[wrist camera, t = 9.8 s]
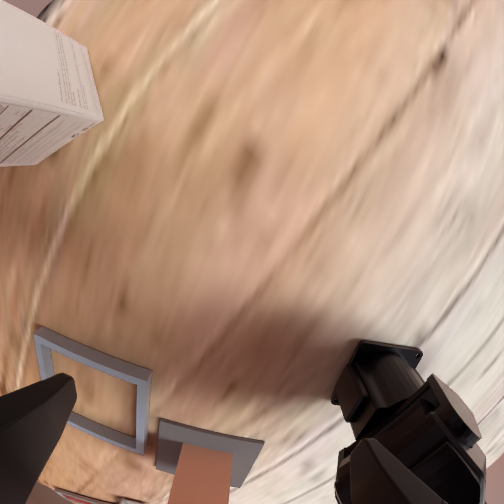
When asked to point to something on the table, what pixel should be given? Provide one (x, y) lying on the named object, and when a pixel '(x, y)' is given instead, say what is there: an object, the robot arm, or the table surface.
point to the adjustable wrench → (88, 502)
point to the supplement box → (41, 89)
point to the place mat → (178, 434)
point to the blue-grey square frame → (107, 365)
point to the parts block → (201, 476)
